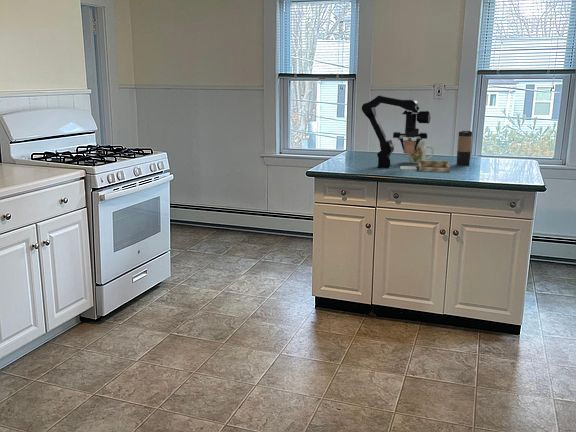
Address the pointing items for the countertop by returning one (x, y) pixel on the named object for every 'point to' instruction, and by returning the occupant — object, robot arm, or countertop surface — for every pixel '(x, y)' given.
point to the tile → (408, 168)
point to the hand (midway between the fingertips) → (409, 150)
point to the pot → (409, 146)
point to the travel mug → (464, 148)
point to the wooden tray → (433, 166)
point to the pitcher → (420, 153)
